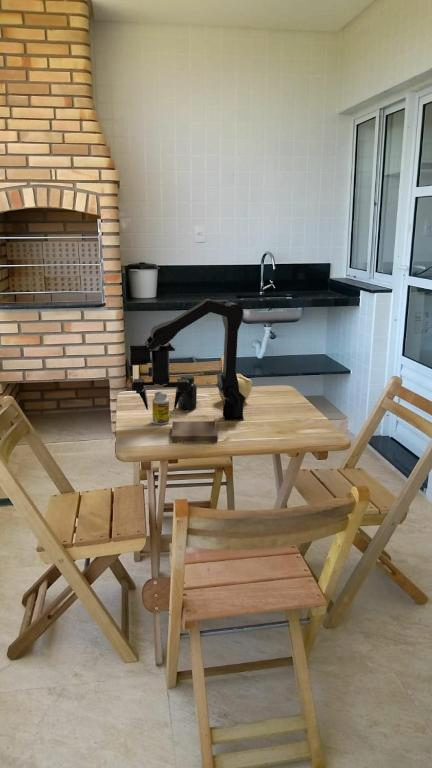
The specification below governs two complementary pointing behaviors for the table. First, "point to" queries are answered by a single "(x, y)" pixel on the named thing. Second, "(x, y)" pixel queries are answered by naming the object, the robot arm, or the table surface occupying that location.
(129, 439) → the table surface
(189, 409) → the supplement bottle
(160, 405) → the supplement bottle
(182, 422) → the walnut block
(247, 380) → the sculpture
